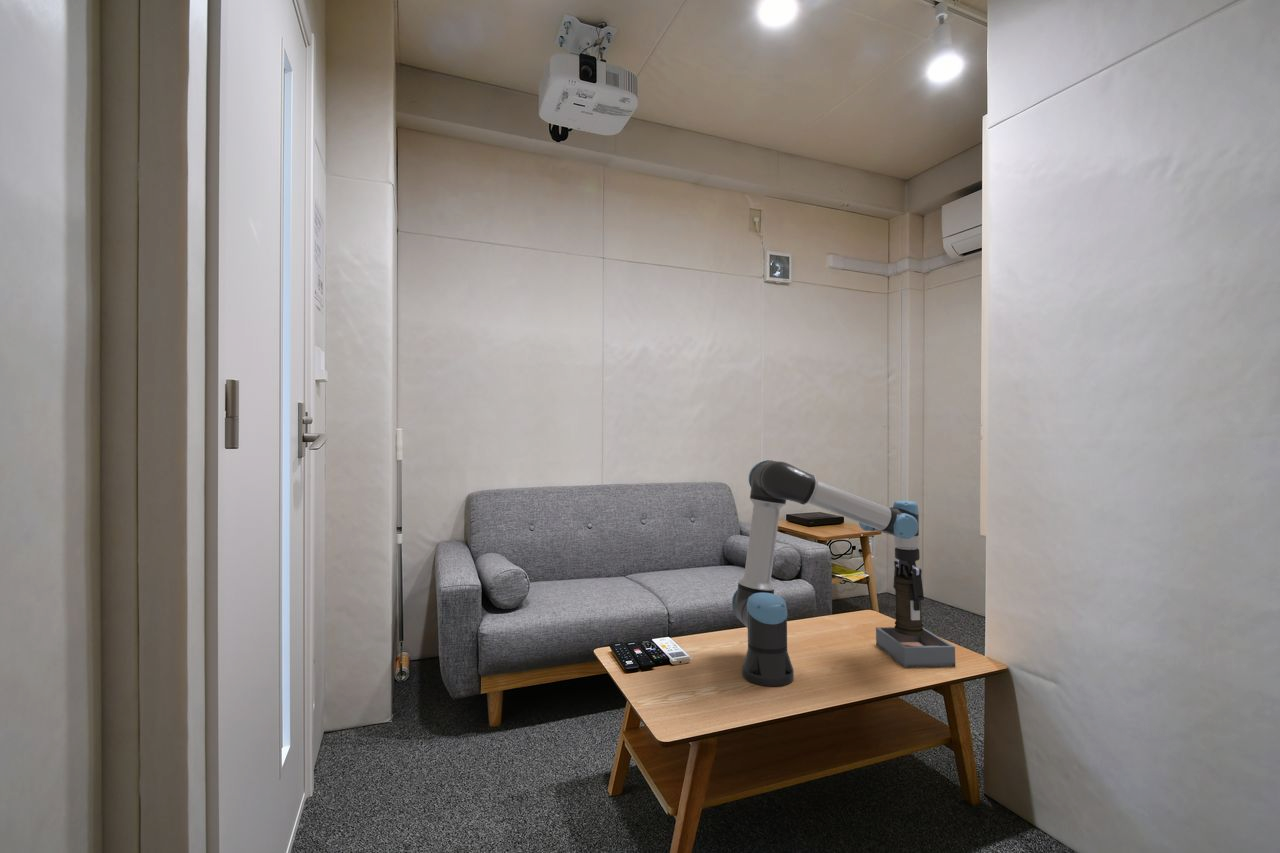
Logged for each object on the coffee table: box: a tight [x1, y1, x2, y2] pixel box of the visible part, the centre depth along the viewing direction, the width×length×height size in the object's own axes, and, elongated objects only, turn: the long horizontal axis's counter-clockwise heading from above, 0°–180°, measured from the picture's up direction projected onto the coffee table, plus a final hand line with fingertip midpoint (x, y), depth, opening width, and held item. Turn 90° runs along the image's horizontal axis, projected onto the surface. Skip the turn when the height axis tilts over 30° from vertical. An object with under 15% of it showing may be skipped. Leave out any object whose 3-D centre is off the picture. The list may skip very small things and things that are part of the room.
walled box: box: [875, 626, 956, 668], centre depth 189 cm, size 16×20×6 cm
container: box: [893, 575, 924, 636], centre depth 192 cm, size 9×9×18 cm
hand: (908, 615), depth 192 cm, fingers closed on container, 8 cm apart
